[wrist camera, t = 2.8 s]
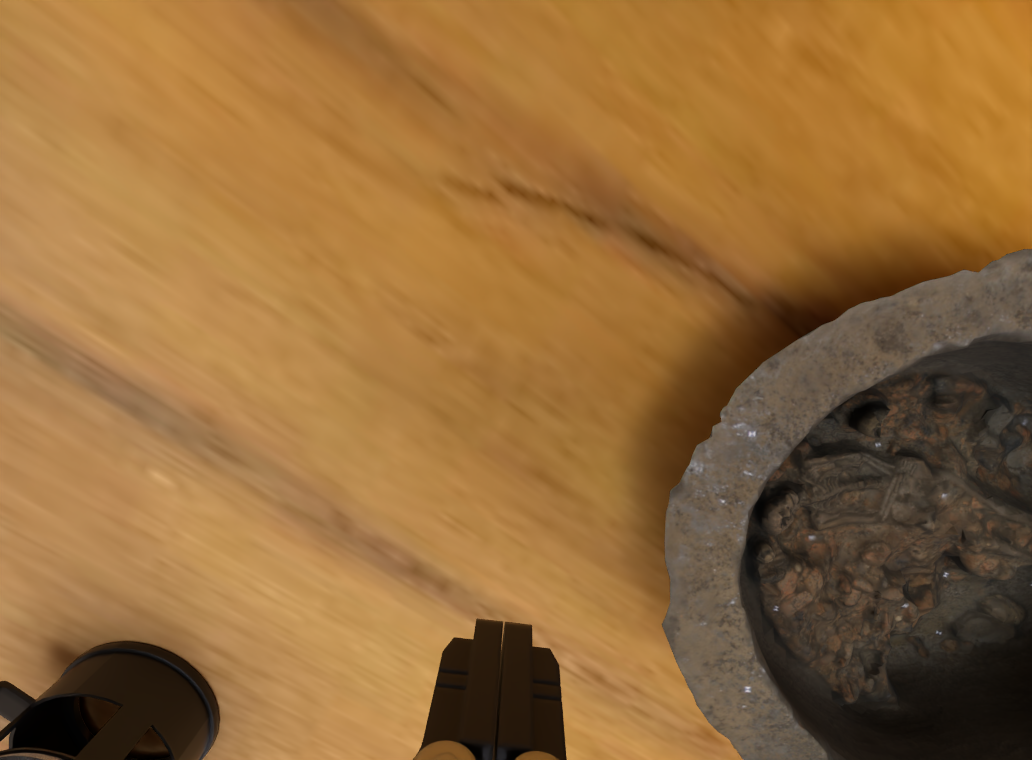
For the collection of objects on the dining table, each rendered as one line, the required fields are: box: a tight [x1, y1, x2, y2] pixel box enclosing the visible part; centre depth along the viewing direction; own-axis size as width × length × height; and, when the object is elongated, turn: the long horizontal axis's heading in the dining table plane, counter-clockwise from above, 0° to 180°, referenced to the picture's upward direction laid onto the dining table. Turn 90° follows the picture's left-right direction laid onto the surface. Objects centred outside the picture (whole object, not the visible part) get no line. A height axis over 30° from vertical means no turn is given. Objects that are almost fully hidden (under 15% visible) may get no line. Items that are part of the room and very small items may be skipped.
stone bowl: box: [662, 249, 1032, 760], centre depth 21 cm, size 25×25×9 cm
